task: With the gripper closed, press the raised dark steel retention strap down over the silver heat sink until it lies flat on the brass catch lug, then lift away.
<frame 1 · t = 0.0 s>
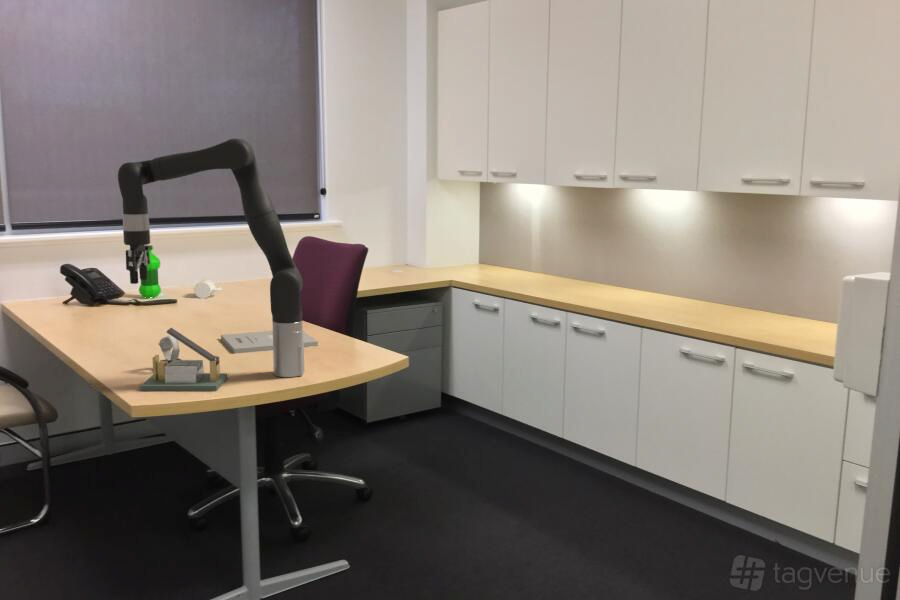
hand: (139, 281, 248), 29 cm above the table, fingers open, 8 cm apart
mug: (209, 297, 392), on the table
clip posts: (186, 367, 241), on the board, point 5 cm above the table
award plaque: (268, 344, 298), on the table
strap: (192, 345, 240), point 12 cm above the table, hinge at 35.0°
plastic bottle: (150, 298, 387), on the table
watch: (171, 370, 259), on the table
heat sink: (184, 371, 241), on the board, point 4 cm above the table
board: (185, 384, 242), on the table
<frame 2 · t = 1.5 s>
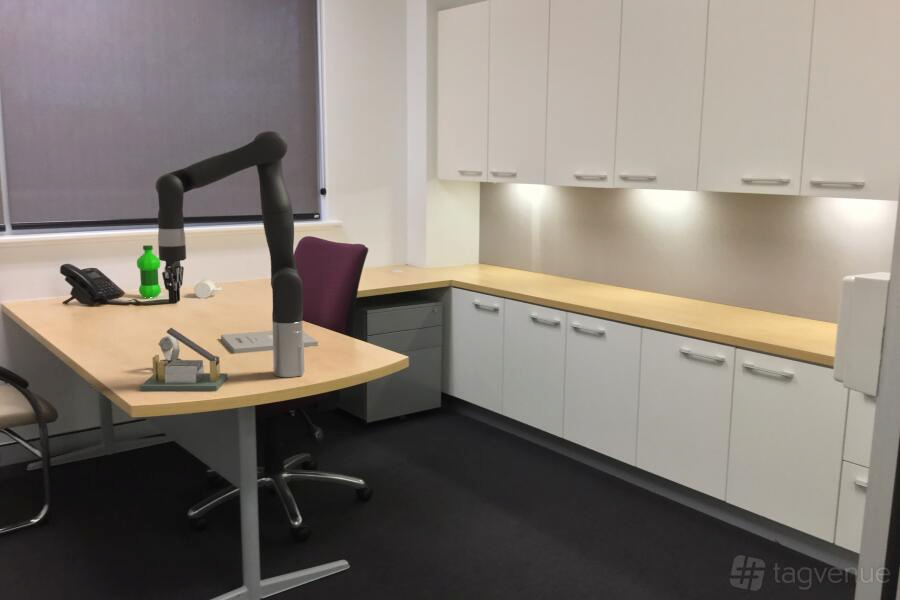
hand: (174, 302, 238), 25 cm above the table, fingers closed
nothing on the table moved.
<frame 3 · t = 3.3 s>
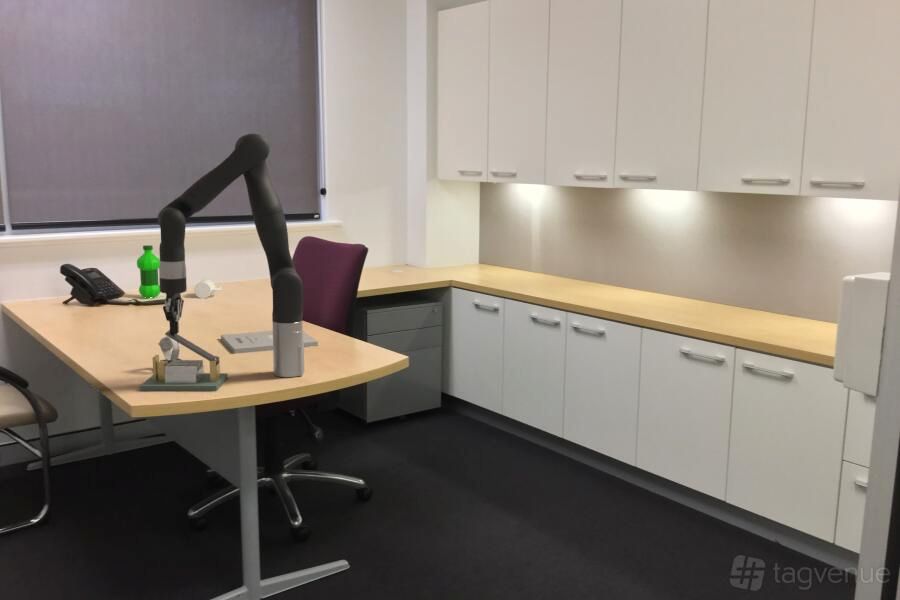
hand: (174, 333, 239), 16 cm above the table, fingers closed
strap: (192, 346, 240), point 12 cm above the table, hinge at 32.0°, touching gripper
everything else where it was.
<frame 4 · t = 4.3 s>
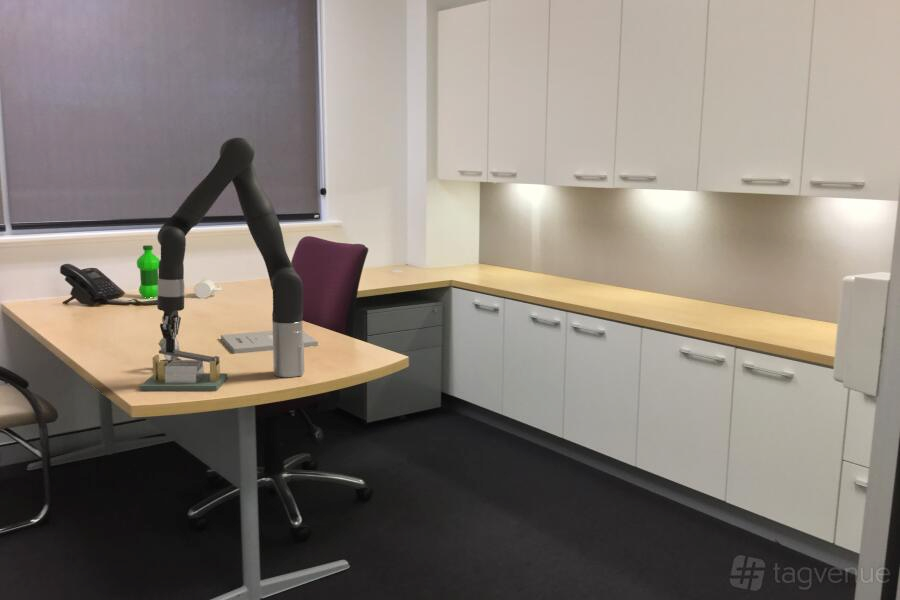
hand: (170, 350, 240), 10 cm above the table, fingers closed
strap: (189, 355, 241), point 9 cm above the table, hinge at 10.3°, touching gripper
everything else where it was.
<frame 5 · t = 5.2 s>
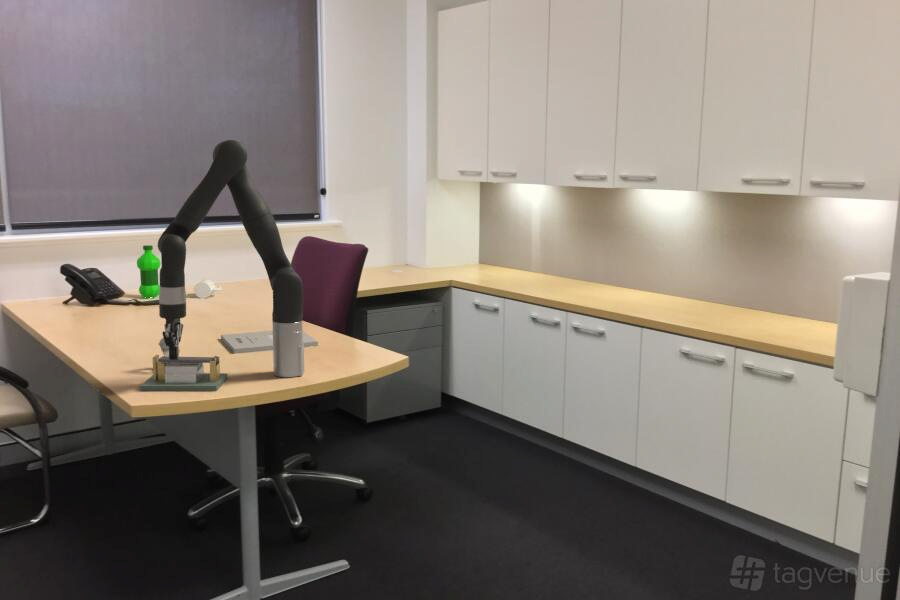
hand: (173, 358, 240), 8 cm above the table, fingers closed
strap: (188, 359, 241), point 8 cm above the table, hinge at 0.8°, touching gripper
everything else where it was.
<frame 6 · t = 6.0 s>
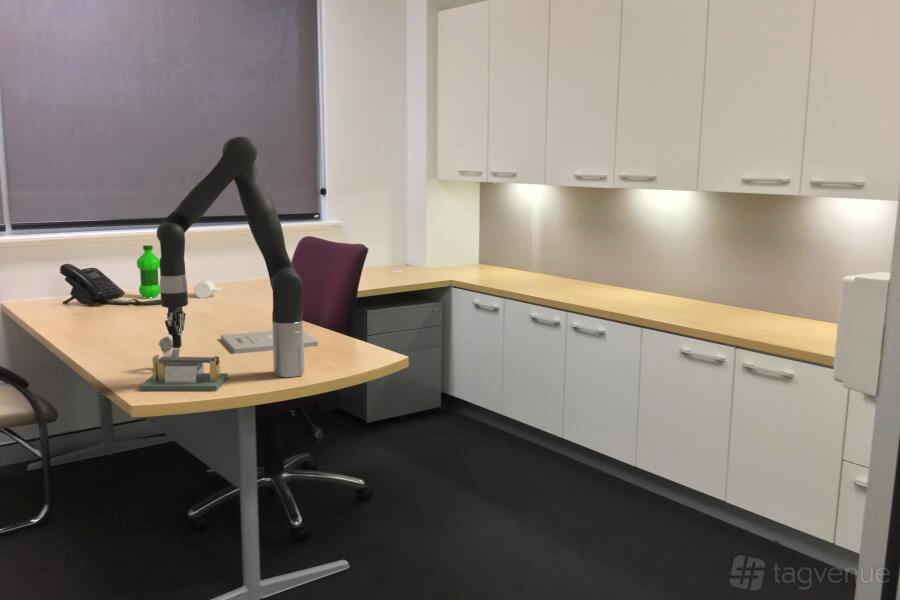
hand: (177, 347, 240), 11 cm above the table, fingers closed
strap: (188, 359, 241), point 8 cm above the table, hinge at 0.7°
everything else where it was.
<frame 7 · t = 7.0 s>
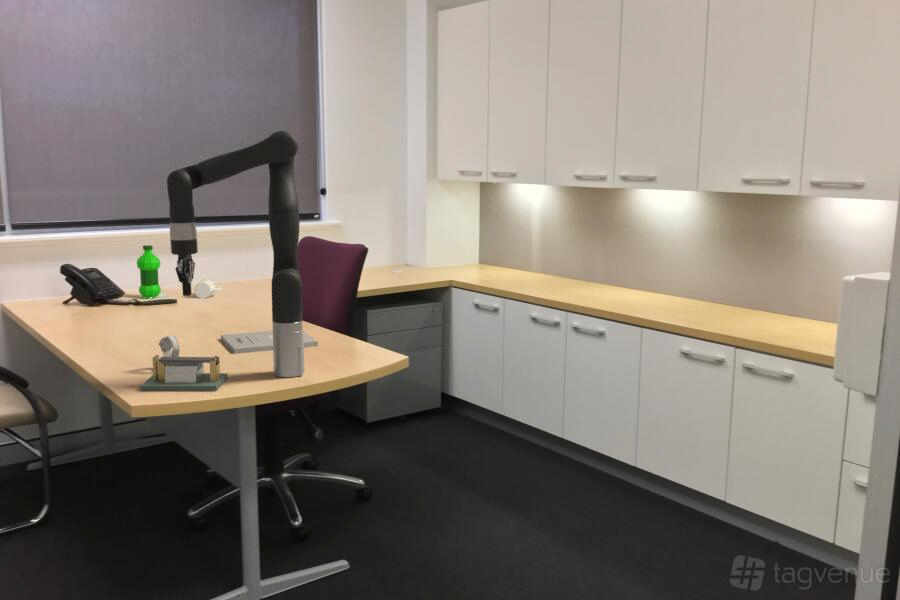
hand: (187, 295, 242), 26 cm above the table, fingers closed
nothing on the table moved.
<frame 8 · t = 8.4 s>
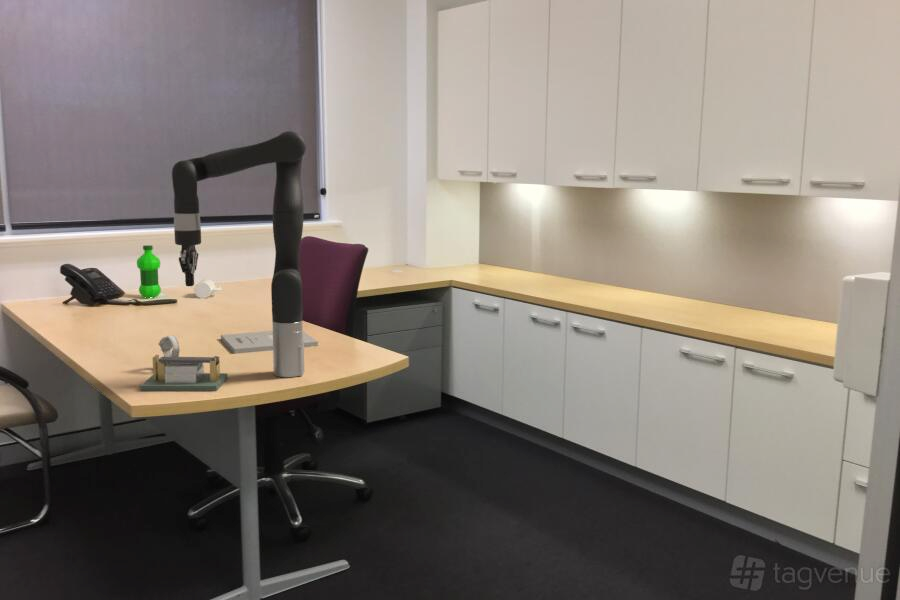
hand: (190, 285, 243), 29 cm above the table, fingers closed
nothing on the table moved.
at the end: strap at +1° (first picture: +35°); watch moved 0.2 cm from its start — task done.
